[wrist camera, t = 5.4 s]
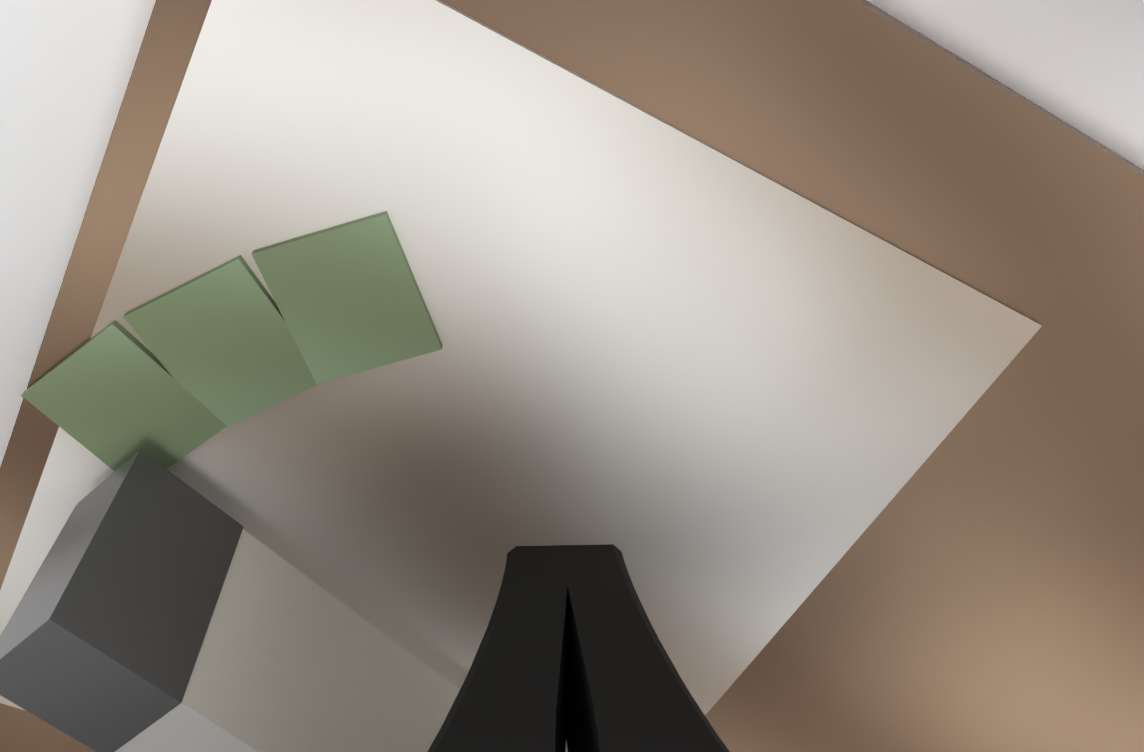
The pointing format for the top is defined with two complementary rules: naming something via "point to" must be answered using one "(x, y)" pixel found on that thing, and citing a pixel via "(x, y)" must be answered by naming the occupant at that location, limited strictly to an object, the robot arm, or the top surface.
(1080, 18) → the top surface
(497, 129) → the brown tray
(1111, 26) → the top surface
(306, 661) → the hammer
